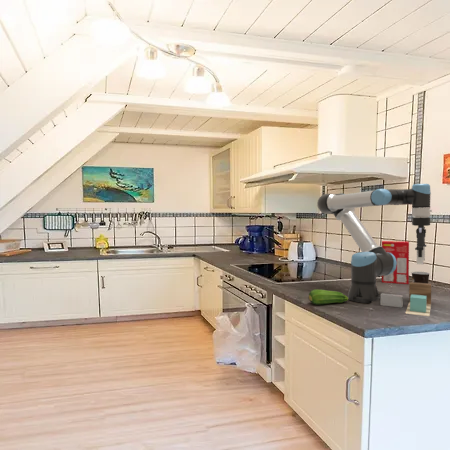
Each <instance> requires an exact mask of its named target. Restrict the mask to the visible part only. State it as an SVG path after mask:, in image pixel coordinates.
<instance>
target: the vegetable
mask: <svg viewBox="0 0 450 450" xmlns="http://www.w3.org/2000/svg"><path fill="white" fill-rule="evenodd" d="M308 300H309V301H310V302H309V303H311V304H313V305H316V306H317V305H318V306H320V305H328V304H342V303H344V302H347V301H348V300H349V299H348V295H345V294H344V293H342V292H341V291H336V290H328V289H327V290H326V289H312V290H311V291H310V292H309V293H308Z"/></svg>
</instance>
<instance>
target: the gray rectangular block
mask: <svg viewBox="0 0 450 450" xmlns="http://www.w3.org/2000/svg"><path fill="white" fill-rule="evenodd" d="M403 298H404V296H403V295H402V294H392V293H383V292H382V293H380V306H384V307H392V308H394V307H395V308H401V309H402V308H403V305H404V304H403V303H404V301H403V300H404V299H403Z"/></svg>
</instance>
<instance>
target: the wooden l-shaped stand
mask: <svg viewBox="0 0 450 450" xmlns="http://www.w3.org/2000/svg"><path fill="white" fill-rule="evenodd" d="M408 287H409V288H408V289H409V290H408V301H409V302H408V305H407V306H406V310H405V314H406V315H408V314H409V315H415V316H422V317H423V316H424V317H430V316H431V308H432V307H431V306H432V283H428V284H427V283H415V282H413V281H409V284H408ZM411 294H413V295H423V296H427V300H426V313H424V312H415V311H410V296H411Z"/></svg>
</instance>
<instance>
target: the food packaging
mask: <svg viewBox="0 0 450 450" xmlns="http://www.w3.org/2000/svg"><path fill="white" fill-rule="evenodd" d="M381 246H382V247H383V248H384V250H385V251H386V252H389V253H391V254H393V255H394V256H395V258H396V261H397V265H396V269H395V271H394V272H393V273H391V274H388V275H386V276H381V283H382V284H383V283H385V284H399V285H400V284H402V285H409V283H410V280H409V276H410V272H409V271H410V242H409V241H396V240H395V241H390V240H381Z"/></svg>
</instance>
